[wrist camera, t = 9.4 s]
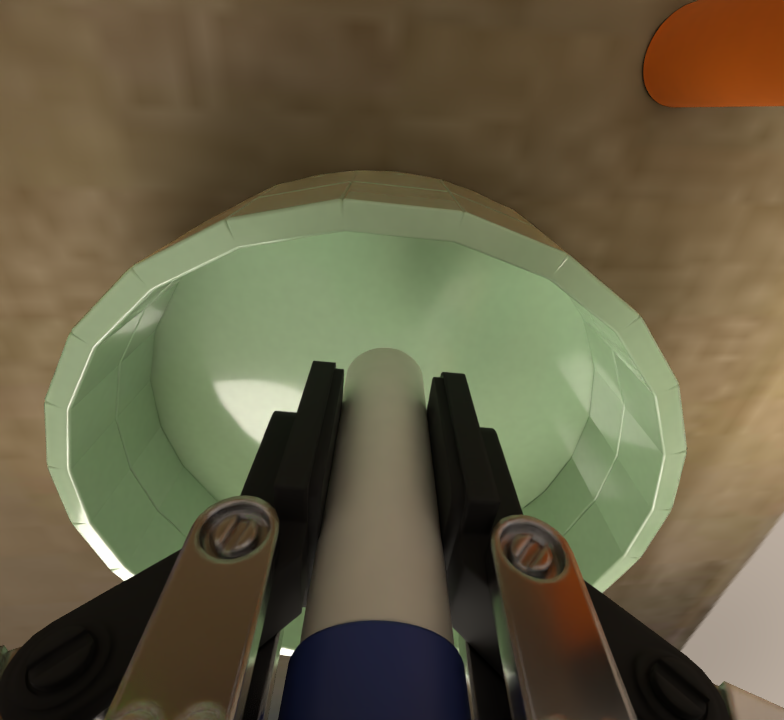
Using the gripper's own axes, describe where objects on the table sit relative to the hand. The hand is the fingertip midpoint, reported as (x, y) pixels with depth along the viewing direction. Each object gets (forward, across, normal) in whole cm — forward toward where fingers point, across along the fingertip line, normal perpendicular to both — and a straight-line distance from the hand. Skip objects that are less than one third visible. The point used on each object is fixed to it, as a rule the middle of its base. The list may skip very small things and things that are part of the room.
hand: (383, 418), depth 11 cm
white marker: (+2, 0, 0) cm, 2 cm away
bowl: (+5, 0, +3) cm, 6 cm away
